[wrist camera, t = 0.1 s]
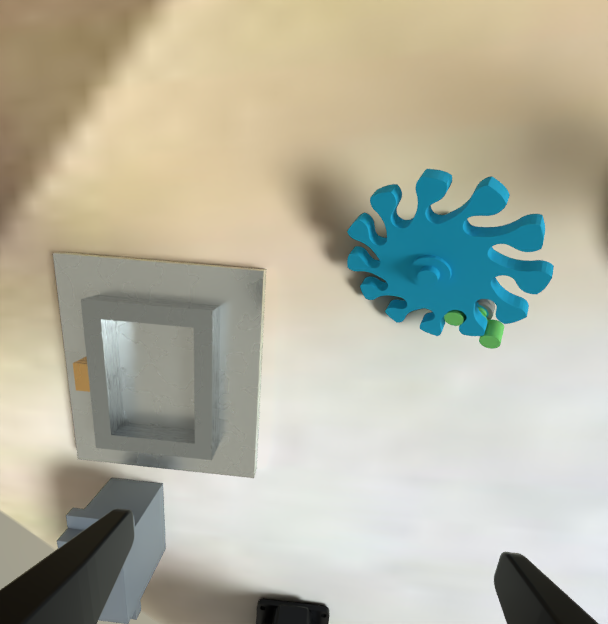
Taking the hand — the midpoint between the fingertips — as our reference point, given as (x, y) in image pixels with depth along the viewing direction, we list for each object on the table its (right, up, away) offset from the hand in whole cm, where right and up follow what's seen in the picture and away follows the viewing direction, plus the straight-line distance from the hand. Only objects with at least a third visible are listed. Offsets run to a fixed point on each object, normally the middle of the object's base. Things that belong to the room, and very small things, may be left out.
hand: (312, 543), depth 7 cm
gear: (+7, +9, +13) cm, 17 cm away
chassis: (-10, +1, +15) cm, 18 cm away
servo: (-14, -12, +19) cm, 27 cm away
